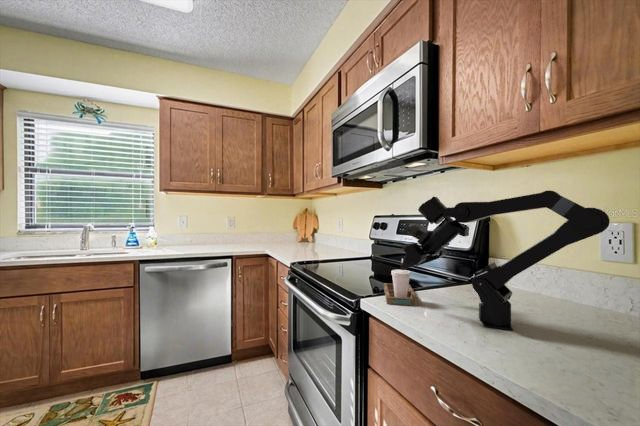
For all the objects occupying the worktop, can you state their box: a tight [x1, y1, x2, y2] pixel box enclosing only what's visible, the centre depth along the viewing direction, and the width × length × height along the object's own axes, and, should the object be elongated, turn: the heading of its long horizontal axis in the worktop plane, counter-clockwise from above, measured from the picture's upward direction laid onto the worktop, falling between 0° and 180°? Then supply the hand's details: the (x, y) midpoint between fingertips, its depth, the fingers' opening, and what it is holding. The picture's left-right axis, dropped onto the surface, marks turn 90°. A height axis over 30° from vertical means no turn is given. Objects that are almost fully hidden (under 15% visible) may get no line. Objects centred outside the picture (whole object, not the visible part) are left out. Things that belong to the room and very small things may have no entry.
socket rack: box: [383, 282, 419, 307], centre depth 98 cm, size 18×10×2 cm, turn 170°
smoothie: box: [390, 258, 412, 298], centre depth 93 cm, size 6×6×14 cm
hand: (408, 266), depth 91 cm, fingers open, 9 cm apart
